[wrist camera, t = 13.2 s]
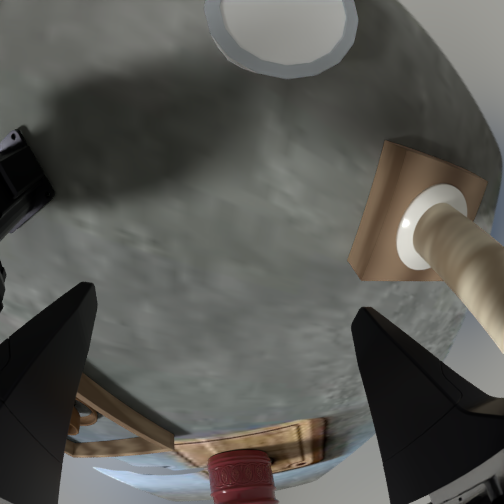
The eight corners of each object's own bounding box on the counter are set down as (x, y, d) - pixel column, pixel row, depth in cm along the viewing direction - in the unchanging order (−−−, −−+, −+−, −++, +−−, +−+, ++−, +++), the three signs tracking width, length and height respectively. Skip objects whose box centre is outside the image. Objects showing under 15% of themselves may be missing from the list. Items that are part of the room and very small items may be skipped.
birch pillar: (428, 264, 23) (515, 372, 12) (402, 238, 21) (509, 362, 10) (462, 223, 21) (561, 318, 10) (441, 191, 19) (565, 293, 8)
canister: (222, 446, 45) (234, 531, 30) (281, 449, 50) (298, 523, 35) (197, 464, 50) (205, 535, 36) (250, 467, 55) (262, 531, 41)
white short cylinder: (324, 14, 14) (377, -8, 9) (287, 96, 18) (327, 104, 12) (229, -24, 12) (241, -70, 6) (188, 61, 15) (178, 48, 10)
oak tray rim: (75, 445, 43) (73, 457, 40) (-27, 373, 28) (-32, 386, 26) (173, 434, 40) (174, 450, 38) (46, 341, 26) (39, 361, 23)
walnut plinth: (347, 260, 26) (363, 283, 23) (384, 139, 20) (410, 151, 17) (430, 264, 28) (447, 283, 25) (467, 170, 22) (490, 183, 19)
